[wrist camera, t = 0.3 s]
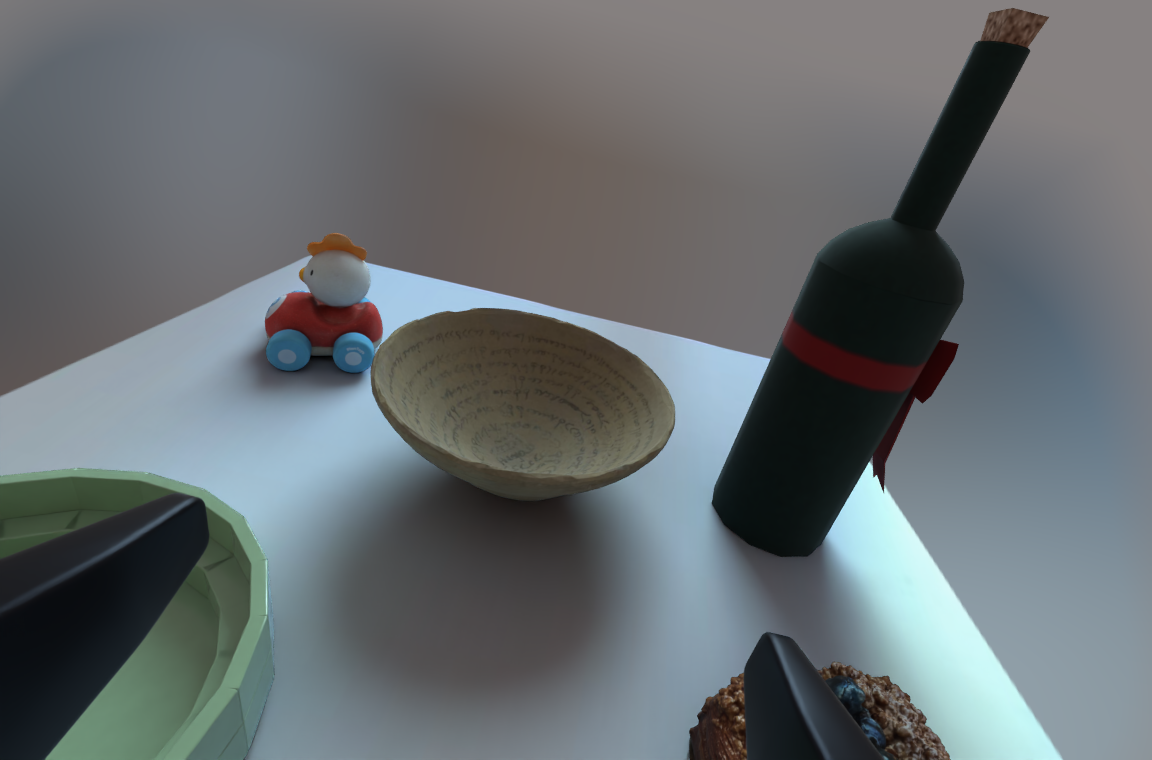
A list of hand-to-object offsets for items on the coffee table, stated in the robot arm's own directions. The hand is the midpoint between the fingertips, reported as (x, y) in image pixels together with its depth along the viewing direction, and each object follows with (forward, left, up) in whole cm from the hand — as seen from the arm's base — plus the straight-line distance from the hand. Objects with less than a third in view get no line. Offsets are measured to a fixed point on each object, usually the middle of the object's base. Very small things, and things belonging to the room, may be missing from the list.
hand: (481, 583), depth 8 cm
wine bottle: (+26, -16, -17) cm, 34 cm away
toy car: (+32, +22, -17) cm, 42 cm away
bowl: (+23, +3, -17) cm, 28 cm away
